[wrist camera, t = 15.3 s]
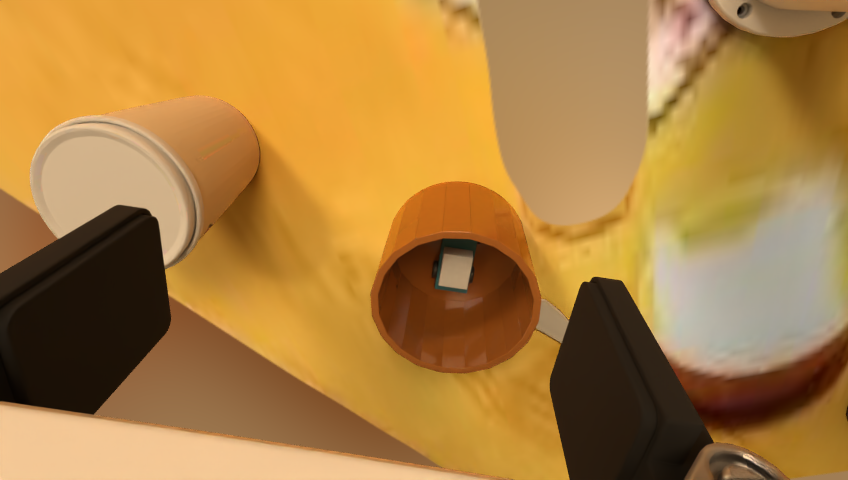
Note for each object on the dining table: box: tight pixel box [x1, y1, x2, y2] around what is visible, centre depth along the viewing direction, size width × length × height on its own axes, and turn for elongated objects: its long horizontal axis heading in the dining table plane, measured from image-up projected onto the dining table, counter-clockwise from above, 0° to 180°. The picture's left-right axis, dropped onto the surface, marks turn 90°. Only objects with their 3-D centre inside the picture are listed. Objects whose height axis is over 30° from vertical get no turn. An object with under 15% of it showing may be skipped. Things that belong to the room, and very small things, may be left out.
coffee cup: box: [30, 96, 260, 269], centre depth 32 cm, size 9×9×12 cm
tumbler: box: [371, 182, 542, 373], centre depth 35 cm, size 11×11×9 cm
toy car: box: [432, 238, 480, 293], centre depth 37 cm, size 6×3×3 cm, turn 173°
